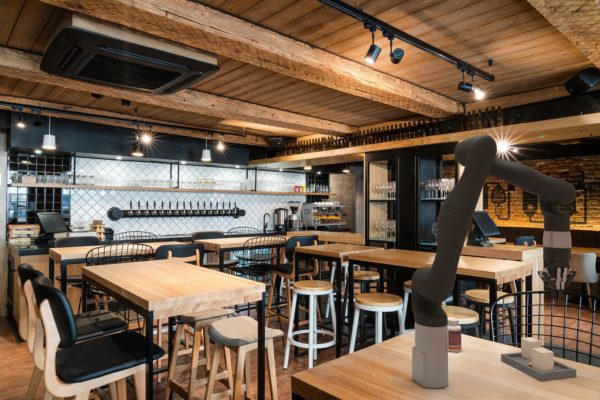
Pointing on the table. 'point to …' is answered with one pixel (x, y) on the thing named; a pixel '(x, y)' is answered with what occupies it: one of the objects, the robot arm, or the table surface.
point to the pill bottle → (454, 335)
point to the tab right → (542, 359)
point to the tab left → (529, 346)
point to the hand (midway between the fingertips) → (557, 300)
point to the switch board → (526, 367)
